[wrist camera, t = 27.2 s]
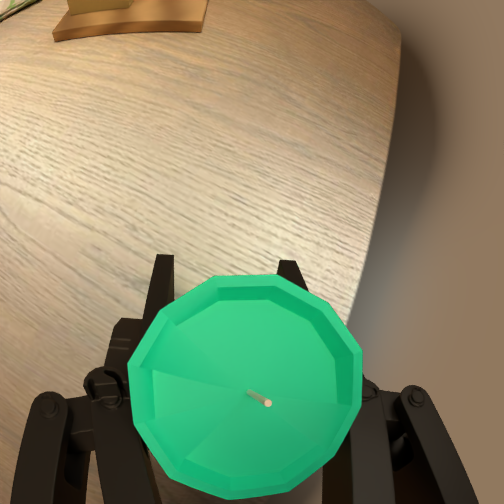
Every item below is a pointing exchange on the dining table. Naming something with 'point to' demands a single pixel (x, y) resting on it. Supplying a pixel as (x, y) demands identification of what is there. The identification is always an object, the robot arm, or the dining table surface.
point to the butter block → (96, 5)
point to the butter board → (135, 19)
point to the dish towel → (12, 6)
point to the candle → (245, 386)
